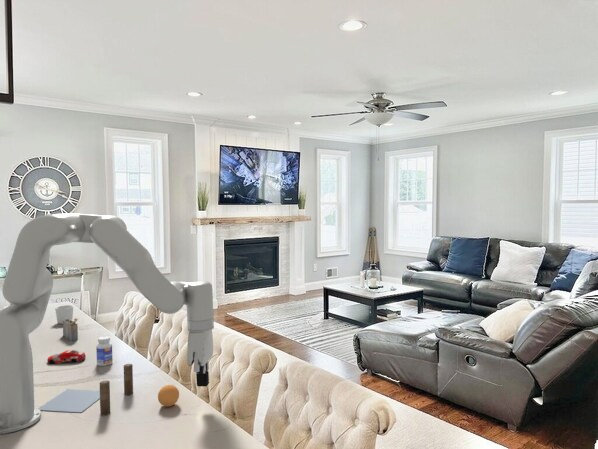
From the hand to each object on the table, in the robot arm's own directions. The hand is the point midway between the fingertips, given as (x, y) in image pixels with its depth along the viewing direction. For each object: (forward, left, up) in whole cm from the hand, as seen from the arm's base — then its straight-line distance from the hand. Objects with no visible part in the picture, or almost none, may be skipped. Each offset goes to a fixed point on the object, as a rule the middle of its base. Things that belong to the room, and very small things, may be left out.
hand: (202, 385), depth 128 cm
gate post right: (+5, +26, -6) cm, 27 cm away
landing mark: (-1, +40, -6) cm, 40 cm away
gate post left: (-8, +26, -6) cm, 28 cm away
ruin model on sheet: (+57, +81, -7) cm, 99 cm away
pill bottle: (+29, +48, -6) cm, 56 cm away
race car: (+29, +64, -7) cm, 71 cm away
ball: (-1, +10, -3) cm, 11 cm away
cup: (+81, +100, -6) cm, 129 cm away
